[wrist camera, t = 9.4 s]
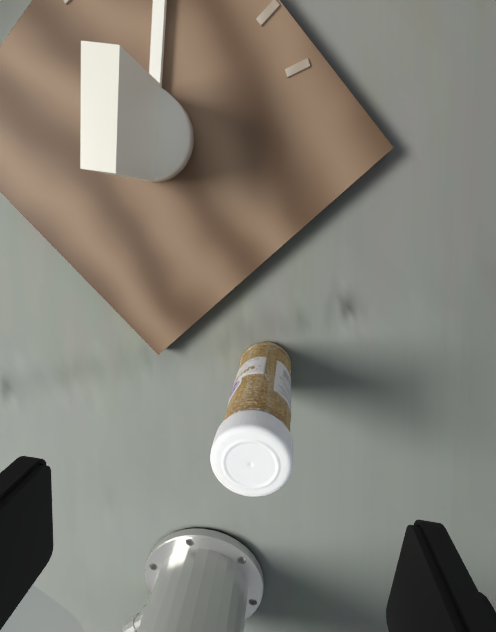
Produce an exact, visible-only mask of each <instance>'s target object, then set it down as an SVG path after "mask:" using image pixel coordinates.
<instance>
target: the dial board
mask: <svg viewBox="0 0 496 632" xmlns="http://www.w3.org/2000/svg"><path fill="white" fill-rule="evenodd" d="M152 5H153V0H32V1H31V3H30V4H29V6H28V7H27V9H26V10H25V11H24V13H23V14H22V16H21V17H20V19H19V20H18V22H17V23H16V24H15V26H14V27H13V29H12V30H11V32H10V33H9V34H8V36H7V37H6V39H5V40H4V42H3V43H2V45H1V46H0V192H1V193H2V194H3V195H4V196H5V197H6V198H7V199H8V200H9V201H10V202H11V203H12V204H13V205H14V206H15V207H16V209H17V210H18V211H19V212H20V213H21V214H22V215H23V216H24V217H25V218H26V219H27V220H28V221H29V222H30V223H31V224H32V225H33V226H34V227H35V228H36V229H37V230H38V231H39V232H40V233H41V234H42V235H43V236H44V237H45V238H46V239H47V240H48V242H49V243H50V244H51V245H52V246H53V247H54V248H55V249H56V250H57V251H58V252H59V253H60V254H61V255H62V256H63V257H64V258H65V259H66V260H67V261H68V262H69V263H70V264H71V265H72V266H73V267H74V268H75V269H76V270H77V271H78V272H79V273H80V275H81V276H82V277H83V278H84V279H85V280H86V281H87V282H88V283H89V284H90V285H91V286H92V287H93V288H94V289H95V290H96V291H97V292H98V293H99V294H100V295H101V296H102V297H103V298H104V299H105V300H106V301H107V302H108V303H109V304H110V305H111V306H112V308H113V309H114V310H115V311H116V312H117V313H118V314H119V315H120V316H121V317H122V318H123V319H124V320H125V321H126V322H127V323H128V324H129V325H130V326H131V327H132V328H133V329H134V330H135V331H136V332H137V333H138V334H139V335H140V336H141V337H142V338H143V339H144V341H145V342H146V343H147V344H148V345H149V346H150V347H151V348H152V349H153V350H154V351H155V352H156V353H157V354H158V355H159V354H160V353H161V352H162V351H164V350H165V349H166V348H167V347H168V346H169V345H170V344H171V343H173V342H174V341H175V340H176V339H177V338H178V337H179V336H180V335H182V334H183V333H184V332H185V331H186V330H187V329H188V328H190V327H191V326H192V325H193V324H194V323H195V322H196V321H197V320H199V319H200V318H201V317H202V316H203V315H204V314H205V313H207V312H208V311H209V310H210V309H211V308H212V307H213V306H214V305H216V304H217V303H218V302H219V301H220V300H221V299H222V298H224V297H225V296H226V295H227V294H228V293H229V292H230V291H231V290H233V289H234V288H235V287H236V286H237V285H238V284H239V283H241V282H242V281H243V280H244V279H245V278H246V277H247V276H248V275H250V274H251V273H252V272H253V271H254V270H255V269H256V268H258V267H259V266H260V265H261V264H262V263H263V262H264V261H265V260H267V259H268V258H269V257H270V256H271V255H272V254H273V253H275V252H276V251H277V250H278V249H279V248H280V247H281V246H282V245H284V244H285V243H286V242H287V241H288V240H289V239H290V238H292V237H293V236H294V235H295V234H296V233H297V232H298V231H299V230H301V229H302V228H303V227H304V226H305V225H306V224H307V223H309V222H310V221H311V220H312V219H313V218H314V217H315V216H316V215H318V214H319V213H320V212H321V211H322V210H323V209H324V208H326V207H327V206H328V205H329V204H330V203H331V202H332V201H333V200H335V199H336V198H337V197H338V196H339V195H340V194H341V193H343V192H344V191H345V190H346V189H347V188H348V187H349V186H350V185H352V184H353V183H354V182H355V181H356V180H357V179H358V178H360V177H361V176H362V175H363V174H364V173H365V172H366V171H367V170H369V169H370V168H371V167H372V166H373V165H374V164H375V163H377V162H378V161H379V160H380V159H381V158H382V157H383V156H384V155H386V154H387V153H388V152H389V151H390V150H391V149H392V148H394V147H393V146H392V145H391V143H390V142H389V141H388V140H387V138H386V137H385V136H384V134H383V133H382V132H381V131H380V129H379V128H378V127H377V125H376V124H375V123H374V121H373V120H372V119H371V118H370V116H369V115H368V114H367V112H366V111H365V110H364V109H363V107H362V106H361V105H360V103H359V102H358V101H357V100H356V98H355V97H354V96H353V94H352V93H351V92H350V91H349V89H348V88H347V87H346V85H345V84H344V83H343V81H342V80H341V79H340V78H339V76H338V75H337V74H336V72H335V71H334V70H333V69H332V67H331V66H330V65H329V63H328V62H327V61H326V60H325V58H324V57H323V56H322V54H321V53H320V52H319V51H318V49H317V48H316V47H315V45H314V44H313V43H312V41H311V40H310V39H309V38H308V36H307V35H306V34H305V32H304V31H303V30H302V29H301V27H300V26H299V25H298V23H297V22H296V21H295V20H294V18H293V17H292V16H291V14H290V13H289V12H288V11H287V9H286V8H285V7H284V5H283V4H282V3H281V2H280V0H167V7H166V24H165V40H164V57H163V74H162V88H163V89H164V90H165V91H167V92H168V93H169V94H170V95H171V96H172V97H173V98H174V99H175V100H176V101H177V102H178V103H180V104H181V106H182V107H183V108H184V109H185V111H186V112H187V114H188V116H189V118H190V121H191V124H192V127H193V133H194V145H193V151H192V154H191V157H190V159H189V161H188V163H187V165H186V166H185V167H184V169H183V170H182V171H181V172H180V173H179V174H177V175H176V176H175V177H173V178H171V179H169V180H166V181H161V182H150V181H145V180H140V179H133V178H126V177H121V176H116V175H110V174H105V173H100V172H95V171H90V170H85V169H80V129H81V41H90V42H99V43H108V44H117V45H120V46H121V47H122V48H123V49H124V50H125V51H127V52H128V53H129V54H130V55H131V56H132V57H133V58H134V59H135V60H136V61H137V62H138V63H139V64H140V65H141V66H142V67H143V68H144V69H145V70H146V71H147V72H148V73H149V64H150V45H151V25H152Z"/></svg>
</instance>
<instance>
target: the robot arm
mask: <svg viewBox="0 0 496 632" xmlns="http://www.w3.org/2000/svg"><path fill="white" fill-rule="evenodd" d="M52 551H53V523H52V490H51V469H50V467H49V466H46V462H45V460H43V459H39V458H33V457H26V456H21V457H19V458H17V459H16V460H15V461H14V462H13V463H11V464H10V465H9V466H8V467H7V468H6V469H5V470H3V471H2V472H1V473H0V630H1V628H2V627H3V625H4V624H5V622H6V621H7V620H8V618H9V617H10V616H11V614H12V613H13V611H14V610H15V609H16V607H17V606H18V604H19V603H20V601H21V600H22V599H23V597H24V596H25V594H26V593H27V592H28V590H29V589H30V587H31V586H32V584H33V583H34V582H35V580H36V579H37V577H38V576H39V575H40V573H41V572H42V570H43V569H44V567H45V566H46V565H47V563H48V561H49V559H50V557H51V555H52ZM145 580H146V584H147V588H148V590H149V592H150V597H149V600H148V603H147V604H146V605H145V606H144V607H143V608H142V610H141V613H137V614H136V615H134V616H133V617H131V618H129V619H128V620H127V621H126V622H124V625H123V629H122V632H244V623H245V620H246V619H247V618H249V617H250V616H251V615H252V614H253V613H254V612H255V611H256V610H257V608H258V606H259V605H260V603H261V600H262V596H263V587H264V579H263V572H262V570H261V567H260V564H259V563H258V561H257V559H256V558H255V556H254V555H253V554H252V553H251V552H250V551H249V549H248V548H247V547H245V546H244V545H243V544H241V543H240V542H239V541H237V540H236V539H234V538H232V537H230V536H228V535H226V534H223V533H220V532H217V531H213V530H208V529H195V528H193V529H185V530H180V531H177V532H174V533H171V534H169V535H168V536H166V537H164V538H163V539H162V540H160V541H159V542H158V543H157V544H156V545H155V547H154V548H153V550H152V551H151V554H150V556H149V558H148V561H147V564H146V568H145ZM386 618H387V625H388V630H389V632H496V612H495V610H494V608H493V607H492V605H491V603H490V602H489V600H488V599H487V597H486V596H485V595H483V594H482V593H480V592H478V590H477V588H476V586H475V584H474V582H473V580H472V578H471V576H470V575H469V573H468V571H467V569H466V567H465V565H464V563H463V561H462V559H461V557H460V555H459V553H458V552H457V550H456V548H455V546H454V544H453V542H452V540H451V538H450V536H449V534H448V532H447V530H446V528H445V527H444V526H443V525H442V524H441V523H436V522H430V521H423V520H416V521H415V523H414V525H408V526H407V529H406V533H405V537H404V541H403V545H402V548H401V552H400V556H399V560H398V564H397V568H396V572H395V576H394V580H393V584H392V588H391V592H390V596H389V600H388V604H387V609H386Z"/></svg>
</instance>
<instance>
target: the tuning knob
mask: <svg viewBox="0 0 496 632" xmlns="http://www.w3.org/2000/svg"><path fill="white" fill-rule="evenodd" d="M166 7H167V0H153V5H152V25H151V45H150V64H149V73H148V72H147V71H146V70H145V69H144V68H143V67H142V66H141V65H140V64H139V63H138V62H137V61H136V60H135V59H134V58H133V57H132V56H131V55H130V54H129V53H128V52H127V51H125V50H124V49H123V48H122V47H121V46H120V45H117V44H108V43H99V42H90V41H81V129H80V169H85V170H90V171H95V172H100V173H105V174H110V175H116V176H121V177H126V178H133V179H140V180H145V181H150V182H161V181H166V180H169V179H171V178H173V177H175V176H176V175H177V174H179V173H180V172H181V171H182V170H183V169H184V167H185V166H186V165H187V163H188V161H189V159H190V157H191V154H192V151H193V145H194V133H193V127H192V124H191V121H190V118H189V116H188V114H187V112H186V111H185V109H184V108H183V107H182V106H181V104H180V103H178V102H177V101H176V100H175V99H174V98H173V97H172V96H171V95H170V94H169V93H168V92H167V91H165V90H164V89H163V88H162V74H163V57H164V40H165V24H166Z"/></svg>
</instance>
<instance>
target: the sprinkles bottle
mask: <svg viewBox="0 0 496 632" xmlns="http://www.w3.org/2000/svg"><path fill="white" fill-rule="evenodd" d="M290 373H291V360H290V358H289V356H288V354H287V353H286V352H285V350H284V349H282V347H280V346H278V345H276V344H274V343H271V342H262V343H257V344H254V345H252V346H251V347H249V348H248V349H247V350H246V351H245V352H244V354H243V355H242V358H241V361H240V368H239V371H238V373H237V376H236V379H235V383H234V386H233V389H232V393H231V396H230V399H229V403H228V408H227V411H226V414H225V418H224V421H223V422H222V424H221V425H220V426H219V428H218V430H217V433H216V435H215V438H214V442H213V445H212V449H211V455H210V460H211V466H212V469H213V472H214V474H215V475H216V477H217V478H218V480H219V481H220V482H221V483H222V484H223V485H224V486H225V487H227V488H228V489H230V490H231V491H233V492H235V493H237V494H240V495H245V496H254V497H257V496H264V495H268V494H271V493H273V492H275V491H277V490H278V489H280V488H281V487H282V486H283V485H284V484H285V483H286V482H287V480H288V479H289V477H290V475H291V472H292V467H293V440H292V437H291V434H290V421H291V378H290Z"/></svg>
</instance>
